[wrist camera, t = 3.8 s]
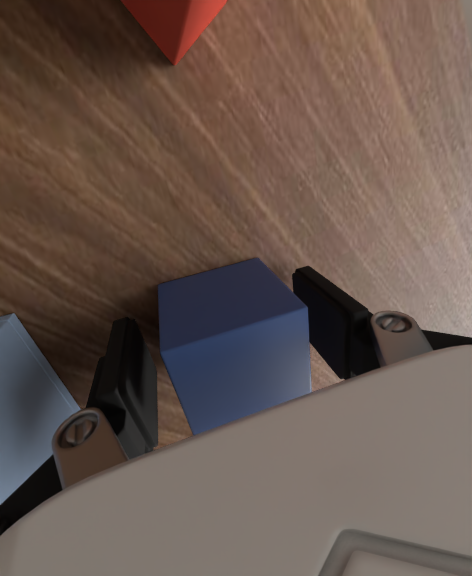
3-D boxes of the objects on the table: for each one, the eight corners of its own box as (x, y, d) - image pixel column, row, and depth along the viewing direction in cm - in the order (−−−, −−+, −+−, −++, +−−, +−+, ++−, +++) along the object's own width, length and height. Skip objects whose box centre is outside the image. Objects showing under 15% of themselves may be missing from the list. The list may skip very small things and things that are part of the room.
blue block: (185, 362, 13) (197, 447, 9) (157, 284, 11) (159, 353, 7) (269, 335, 14) (312, 404, 10) (258, 256, 12) (308, 306, 8)
